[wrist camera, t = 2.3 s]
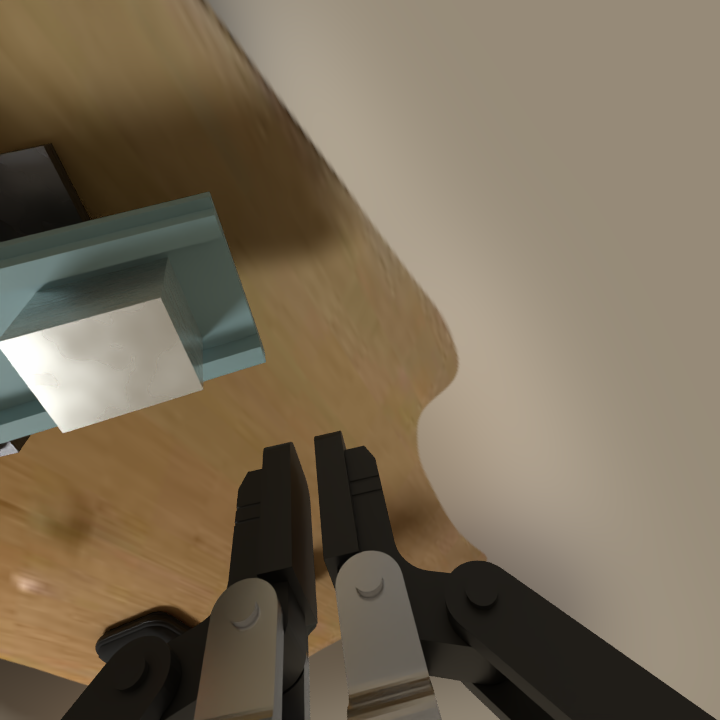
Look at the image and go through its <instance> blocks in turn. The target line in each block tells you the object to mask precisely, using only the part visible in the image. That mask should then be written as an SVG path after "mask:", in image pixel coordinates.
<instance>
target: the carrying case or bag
mask: <svg viewBox="0 0 720 720" xmlns="http://www.w3.org/2000/svg"><path fill="white" fill-rule="evenodd" d="M190 629H191V628H190V627H188V626H187V625H185V624H184V623H182V622H181V621H179V620H177V619H176V618H174V617H173V616H171V615H169V614H167V613H164V612H155V613H151V614H149V615H146V616H144V617H142V618H139V619H137V620H134V621H132V622H130V623H127V624H125V625H122V626H120V627H118V628H115V629H113V630H110V631H109V632H107V633H106V634H104V635H103V636H101V637H100V638H99V640H98V641H97V643H96V646H95V647H96V652H97V654H98V655H99V658H100V659H101V660H103V661H104V662H105V663H107V662H108V661H109V660H110V659H111V657H112V656H113V655H114V654H115V653H116V652H117V651H118V650H119V649H120V648H122V647H123V646H124V645H126V644H127V643H129V642H130V641H132V640H134V639H137V638H139V637H143V636H157V637H159V638H161V639H163V640H164V641H165V642H166V643H168V642H169V641H171V640H173V639H175V638H176V637H178V636H180V635H181V634H183V633H185V632H187V631H188V630H190Z"/></svg>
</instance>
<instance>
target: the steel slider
mask: <svg viewBox="0 0 720 720" xmlns="http://www.w3.org/2000/svg"><path fill="white" fill-rule="evenodd" d="M0 349H1V350H2V352H3V353H4V354H5V356H6V357H7V358H8V360H9V361H10V362H11V364H12V365H13V366H14V368H15V369H16V371H17V372H18V373H19V375H20V376H21V377H22V379H23V380H24V381H25V383H26V384H27V385H28V387H29V388H30V389H31V391H32V392H33V393H34V395H35V396H36V398H37V399H38V400H39V402H40V403H41V404H42V406H43V407H44V408H45V410H46V411H47V412H48V414H49V415H50V416H51V418H52V419H53V420H54V422H55V423H56V424H57V426H58V427H59V429H60V430H61V431H62V433H65V432H68V431H71V430H75V429H78V428H81V427H84V426H88V425H91V424H94V423H97V422H100V421H104V420H107V419H110V418H113V417H117V416H120V415H123V414H126V413H129V412H133V411H136V410H139V409H142V408H146V407H149V406H152V405H155V404H158V403H162V402H165V401H168V400H171V399H174V398H178V397H181V396H184V395H187V394H191V393H194V392H197V391H200V390H203V338H202V335H201V333H200V331H199V328H198V326H197V324H196V321H195V319H194V317H193V315H192V312H191V310H190V308H189V305H188V303H187V301H186V298H185V296H184V294H183V291H182V289H181V287H180V284H179V282H178V280H177V277H176V275H175V273H174V270H173V268H172V266H171V263H170V261H169V259H168V258H164V259H160V260H156V261H152V262H148V263H145V264H141V265H137V266H133V267H129V268H126V269H122V270H118V271H114V272H110V273H106V274H103V275H99V276H95V277H91V278H87V279H84V280H80V281H76V282H72V283H68V284H64V285H61V286H57V287H53V288H49V289H45V290H42V291H38V292H36V293H35V294H34V295H33V297H32V298H31V299H30V300H29V302H28V303H27V304H26V305H25V307H24V308H23V309H22V311H21V312H20V313H19V314H18V316H17V317H16V318H15V319H14V321H13V322H12V323H11V325H10V326H9V327H8V328H7V330H6V331H5V332H4V333H3V335H2V336H1V337H0Z"/></svg>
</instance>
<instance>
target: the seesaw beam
mask: <svg viewBox="0 0 720 720" xmlns="http://www.w3.org/2000/svg"><path fill="white" fill-rule="evenodd" d="M164 258H168V259H169V261H170V263H171V266H172V268H173V270H174V273H175V275H176V277H177V280H178V282H179V284H180V287H181V289H182V291H183V294H184V296H185V298H186V301H187V303H188V305H189V308H190V310H191V312H192V315H193V317H194V319H195V321H196V324H197V326H198V328H199V331H200V333H201V335H202V338H203V381H206V380H209V379H213V378H216V377H219V376H222V375H226V374H229V373H232V372H235V371H239V370H242V369H245V368H248V367H252V366H255V365H258V364H261V363H265V362H266V360H265V352H264V348H263V345H262V342H261V339H260V336H259V333H258V330H257V327H256V325H255V322H254V319H253V316H252V313H251V310H250V307H249V304H248V301H247V299H246V296H245V293H244V290H243V287H242V284H241V281H240V278H239V275H238V273H237V270H236V267H235V264H234V261H233V258H232V255H231V252H230V249H229V247H228V244H227V241H226V238H225V235H224V232H223V229H222V226H221V223H220V221H219V218H218V215H217V212H216V209H215V206H214V203H213V200H212V197H211V194H210V192H205V193H201V194H197V195H193V196H189V197H185V198H181V199H177V200H173V201H168V202H164V203H160V204H156V205H152V206H148V207H144V208H140V209H135V210H131V211H127V212H123V213H119V214H115V215H111V216H107V217H103V218H98V219H94V220H90V221H86V222H82V223H78V224H74V225H70V226H65V227H61V228H57V229H53V230H49V231H45V232H41V233H37V234H32V235H28V236H24V237H20V238H16V239H12V240H8V241H4V242H0V337H1V336H2V335H3V333H4V332H5V331H6V330H7V328H8V327H9V326H10V325H11V323H12V322H13V321H14V319H15V318H16V317H17V316H18V314H19V313H20V312H21V311H22V309H23V308H24V307H25V305H26V304H27V303H28V302H29V300H30V299H31V298H32V297H33V295H34V294H35V293H36V292H38V291H42V290H45V289H49V288H53V287H57V286H61V285H64V284H68V283H72V282H76V281H80V280H84V279H87V278H91V277H95V276H99V275H103V274H106V273H110V272H114V271H118V270H122V269H126V268H129V267H133V266H137V265H141V264H145V263H148V262H152V261H156V260H160V259H164ZM53 427H57V424H56V423H55V422H54V420H53V419H52V418H51V416H50V415H49V414H48V412H47V411H46V410H45V408H44V407H43V406H42V404H41V403H40V402H39V400H38V399H37V398H36V396H35V395H34V393H33V392H32V391H31V389H30V388H29V387H28V385H27V384H26V383H25V381H24V380H23V379H22V377H21V376H20V375H19V373H18V372H17V371H16V369H15V368H14V366H13V365H12V364H11V362H10V361H9V360H8V358H7V357H6V356H5V354H4V353H3V352H2V350H1V349H0V444H1V443H5V442H8V441H11V440H14V439H18V438H21V437H24V436H27V435H31V434H34V433H37V432H40V431H44V430H47V429H50V428H53Z"/></svg>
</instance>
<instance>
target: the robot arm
mask: <svg viewBox="0 0 720 720" xmlns="http://www.w3.org/2000/svg"><path fill="white" fill-rule="evenodd" d="M314 444H315V456H316V469H317V481H318V494H319V506H320V519H321V531H322V544H323V556H324V561H325V564H326V566H327V569H328V572H329V575H330V577H331V580H332V583H333V585H334V588H335V591H336V598H337V606H338V614H339V622H340V630H341V638H342V645H343V653H344V661H345V669H346V677H347V685H348V694H349V706H348V709H347V720H442V719H441V715H440V712H439V708H438V704H437V700H436V698H435V693H434V690H433V687H432V684H431V681H430V677H429V676H435V677H441V678H447V679H453V680H459V681H461V682H462V683H463V684H464V685H465V686H466V687H467V688H468V689H469V690H470V691H471V692H472V693H473V694H474V695H475V696H476V697H477V698H478V699H479V700H481V702H482V703H484V705H486V706H487V707H488V708H489V709H490V710H491V711H492V712H493V713H494V714H495V715H496V716H497V717H498V718H499V719H500V720H716V719H715V718H714V717H712V716H711V715H709V714H708V713H706V712H705V711H704V710H702V709H701V708H699V707H698V706H696V705H695V704H694V703H692V702H691V701H689V700H688V699H687V698H685V697H684V696H682V695H681V694H679V693H678V692H677V691H675V690H674V689H672V688H671V687H669V686H668V685H666V684H665V683H664V682H662V681H661V680H659V679H658V678H657V677H655V676H654V675H652V674H651V673H650V672H648V671H647V670H645V669H644V668H642V667H641V666H640V665H638V664H637V663H635V662H634V661H633V660H631V659H630V658H628V657H627V656H625V655H624V654H623V653H621V652H620V651H618V650H617V649H615V648H614V647H613V646H611V645H610V644H608V643H607V642H605V641H604V640H603V639H601V638H600V637H598V636H597V635H596V634H594V633H593V632H591V631H590V630H588V629H587V628H586V627H584V626H583V625H581V624H580V623H579V622H577V621H576V620H574V619H573V618H571V617H570V616H569V615H567V614H566V613H564V612H563V611H561V610H560V609H559V608H557V607H556V606H554V605H553V604H552V603H550V602H549V601H547V600H546V599H544V598H543V597H541V596H540V595H539V594H537V593H536V592H534V591H533V590H532V589H530V588H529V587H527V586H526V585H525V584H523V583H522V582H520V581H519V580H517V579H516V578H515V577H513V576H511V575H510V574H509V573H507V572H506V571H504V570H503V569H502V568H500V567H498V566H496V565H494V564H492V563H489V562H485V561H470V562H466V563H464V564H461V565H460V566H458V567H457V568H455V569H454V570H453V571H452V573H444V572H434V571H427V570H422V569H419V568H417V567H415V566H413V565H411V564H410V563H408V562H407V561H406V560H405V559H404V558H403V557H402V556H401V555H400V553H399V552H398V550H397V548H396V545H395V542H394V538H393V533H392V529H391V525H390V521H389V516H388V512H387V508H386V503H385V499H384V495H383V490H382V486H381V482H380V478H379V473H378V469H377V465H376V460H375V458H374V457H373V455H372V454H371V453H370V452H369V451H368V450H367V449H366V447H365V446H360V447H356V448H352V449H347V450H346V447H345V443H344V440H343V436H342V432H341V431H337V432H333V433H328V434H324V435H319V436H315V437H314ZM313 624H317V606H316V589H315V573H314V556H313V539H312V522H311V506H310V496H309V490H308V485H307V481H306V478H305V475H304V472H303V470H302V467H301V464H300V461H299V458H298V455H297V453H296V450H295V447H294V445H293V443H292V442H288V443H284V444H280V445H275V446H271V447H266V448H264V451H263V466H262V469H259V470H255V471H250V472H248V473H247V475H246V477H245V478H244V480H243V482H242V484H241V486H240V487H239V489H238V498H237V511H236V517H235V526H234V535H233V544H232V553H231V563H230V572H229V581H228V586H227V589H226V590H225V591H224V592H223V593H222V595H221V596H220V597H219V598H218V600H217V601H216V603H215V605H214V607H213V610H212V612H211V615H210V616H209V617H208V618H206V619H205V620H204V621H203V622H201V623H200V624H198V625H197V626H195V627H193V628H192V629H190V630H188V631H187V632H185V633H183V634H181V635H180V636H178V637H176V638H175V639H173V640H171V641H169V642H168V643H166V642H165V641H164V640H163V639H161V638H159V637H157V636H143V637H139V638H137V639H134V640H132V641H130V642H129V643H127V644H126V645H124V646H123V647H122V648H120V649H119V650H118V651H117V652H116V653H115V654H114V655H113V656H112V657H111V659H110V660H109V661H108V662H107V663H106V665H105V666H104V667H103V668H102V670H101V671H100V672H99V673H98V675H97V676H96V677H95V678H94V679H93V681H92V682H91V683H90V684H89V686H88V687H87V688H86V689H85V691H84V692H83V693H82V694H81V695H80V697H79V698H78V699H77V700H76V702H75V703H74V704H73V705H72V707H71V708H70V709H69V710H68V712H67V713H66V714H65V715H64V716H63V718H62V719H61V720H310V683H309V682H310V680H309V658H308V654H307V652H306V629H305V626H308V625H313Z"/></svg>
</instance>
